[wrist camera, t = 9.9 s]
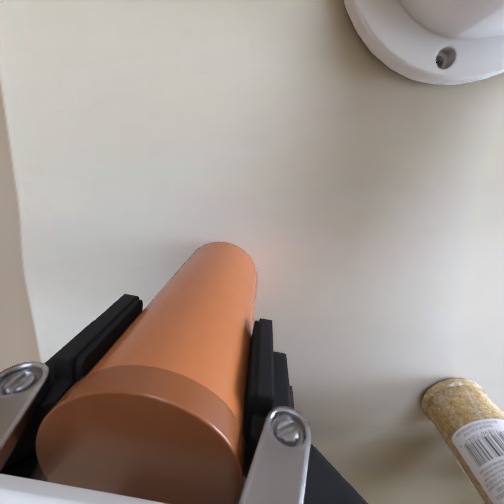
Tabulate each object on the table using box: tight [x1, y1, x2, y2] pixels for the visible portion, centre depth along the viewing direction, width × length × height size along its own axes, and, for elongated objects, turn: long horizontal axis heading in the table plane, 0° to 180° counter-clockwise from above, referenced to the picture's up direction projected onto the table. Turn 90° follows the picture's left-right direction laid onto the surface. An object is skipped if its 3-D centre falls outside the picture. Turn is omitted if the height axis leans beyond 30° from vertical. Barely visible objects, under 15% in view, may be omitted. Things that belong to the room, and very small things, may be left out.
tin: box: [35, 242, 257, 504], centre depth 12 cm, size 5×5×12 cm
